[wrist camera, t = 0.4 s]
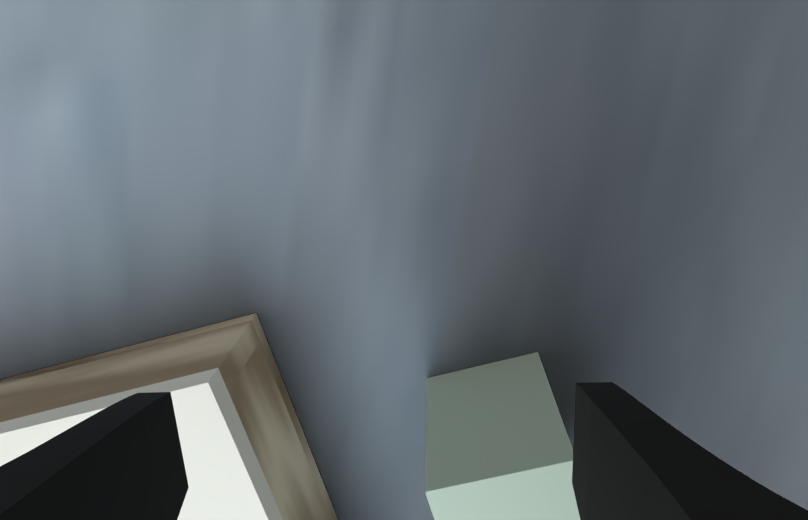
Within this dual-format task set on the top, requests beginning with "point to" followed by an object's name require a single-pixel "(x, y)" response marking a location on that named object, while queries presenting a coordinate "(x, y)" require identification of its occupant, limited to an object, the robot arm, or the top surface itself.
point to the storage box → (184, 355)
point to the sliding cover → (200, 442)
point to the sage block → (497, 445)
